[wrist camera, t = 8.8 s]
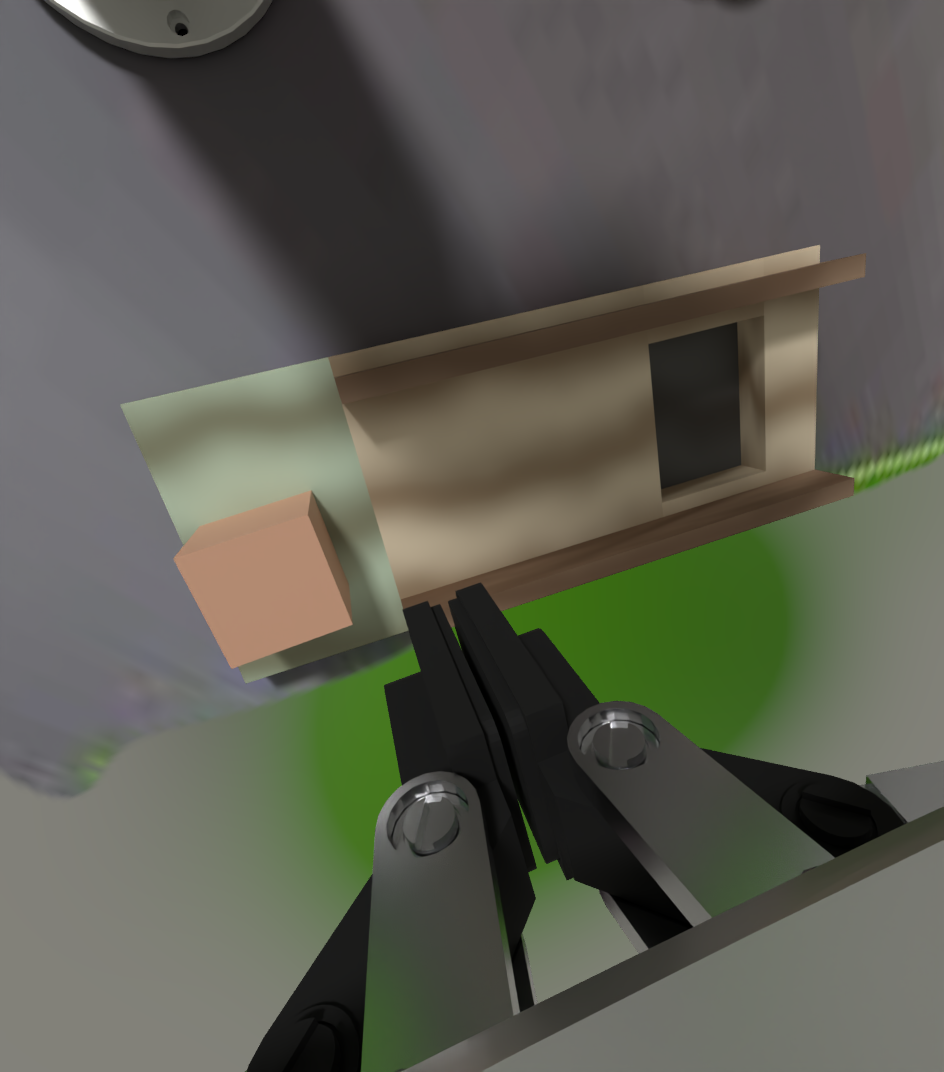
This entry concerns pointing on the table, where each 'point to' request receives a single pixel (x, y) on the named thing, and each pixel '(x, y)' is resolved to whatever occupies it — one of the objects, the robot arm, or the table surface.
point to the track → (521, 442)
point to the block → (267, 579)
